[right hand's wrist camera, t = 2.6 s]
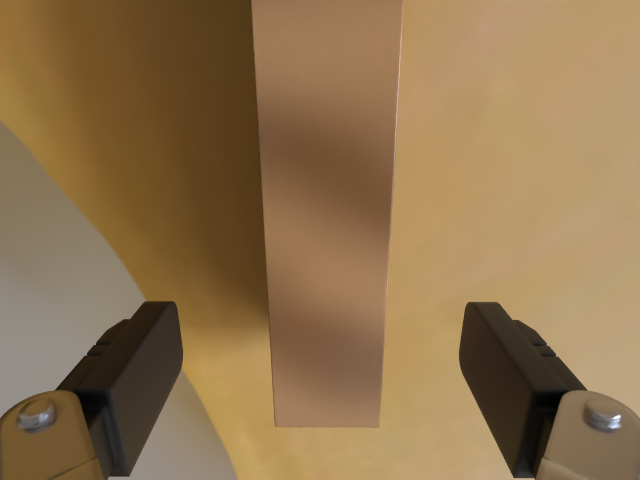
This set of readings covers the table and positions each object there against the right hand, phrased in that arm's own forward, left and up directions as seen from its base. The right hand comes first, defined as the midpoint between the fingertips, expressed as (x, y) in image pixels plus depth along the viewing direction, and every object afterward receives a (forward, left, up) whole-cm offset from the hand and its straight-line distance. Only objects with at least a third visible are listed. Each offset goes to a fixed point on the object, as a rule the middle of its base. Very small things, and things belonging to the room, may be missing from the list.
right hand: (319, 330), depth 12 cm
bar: (+8, -25, -11) cm, 29 cm away
